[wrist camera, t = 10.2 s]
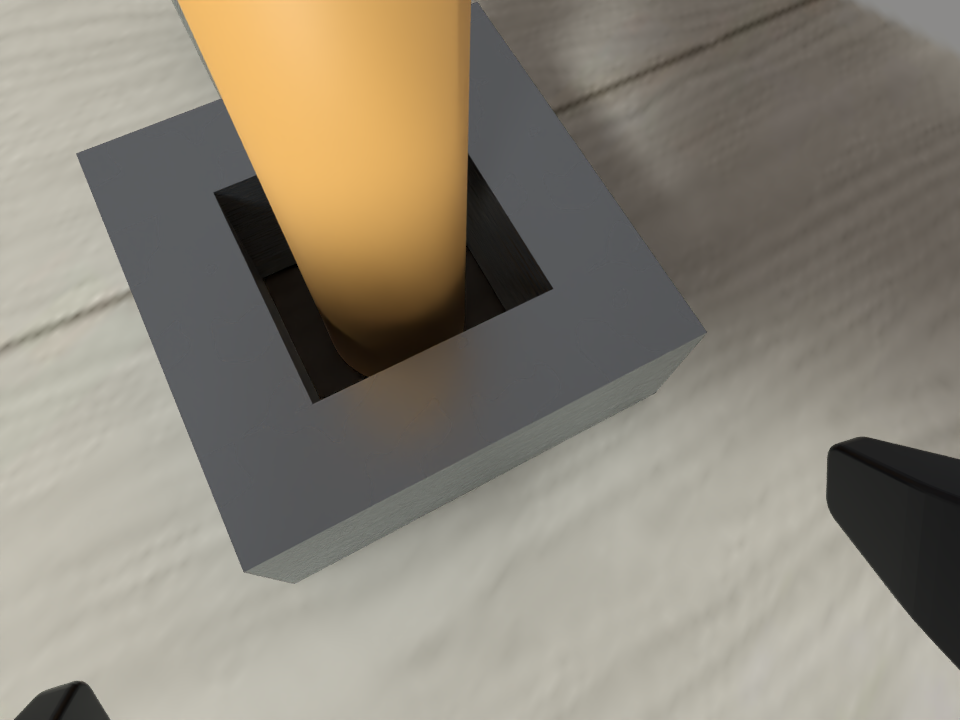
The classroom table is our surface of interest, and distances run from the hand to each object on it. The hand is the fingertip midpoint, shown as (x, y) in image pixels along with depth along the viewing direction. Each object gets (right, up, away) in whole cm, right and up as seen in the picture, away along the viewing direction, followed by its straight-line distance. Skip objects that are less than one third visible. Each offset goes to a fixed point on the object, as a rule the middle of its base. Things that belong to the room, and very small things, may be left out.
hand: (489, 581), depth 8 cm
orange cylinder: (-2, +4, +10) cm, 11 cm away
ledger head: (-4, +7, +12) cm, 14 cm away
